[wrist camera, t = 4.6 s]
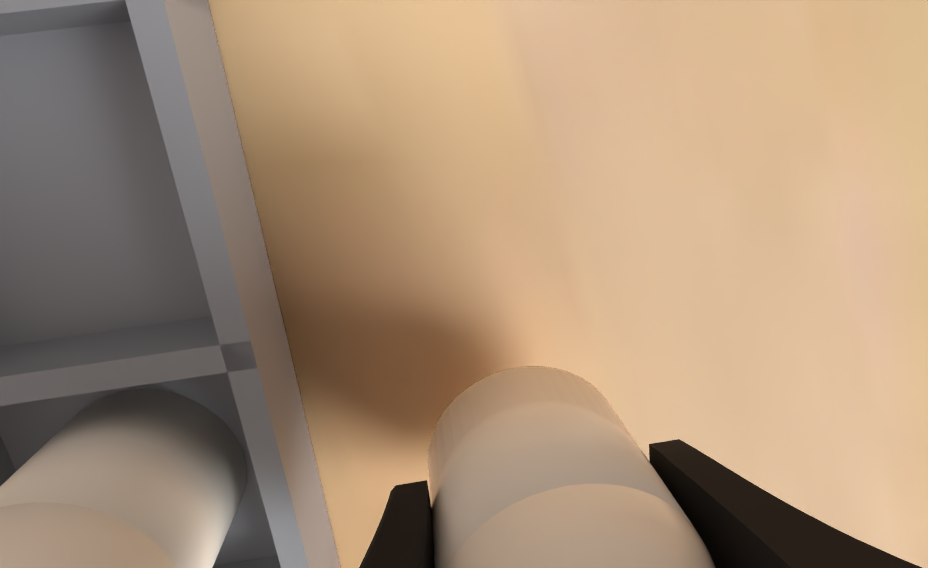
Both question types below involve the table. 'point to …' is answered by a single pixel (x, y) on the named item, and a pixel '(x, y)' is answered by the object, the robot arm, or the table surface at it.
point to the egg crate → (139, 306)
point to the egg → (549, 482)
